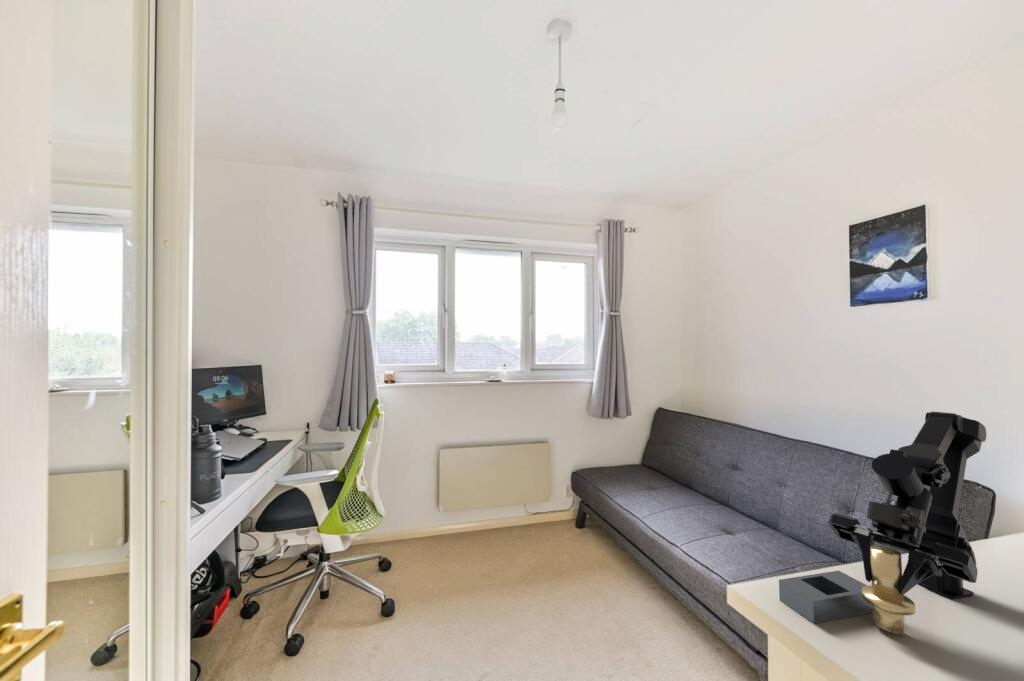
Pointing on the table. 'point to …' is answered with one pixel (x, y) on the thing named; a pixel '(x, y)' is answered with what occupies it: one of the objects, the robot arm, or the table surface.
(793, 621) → the table surface
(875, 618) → the brass pin
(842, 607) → the steel hitch block
